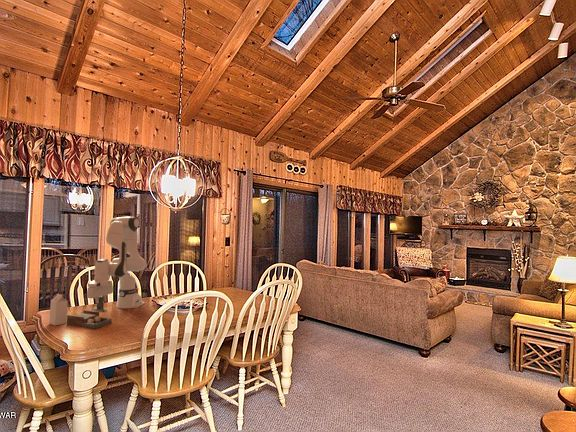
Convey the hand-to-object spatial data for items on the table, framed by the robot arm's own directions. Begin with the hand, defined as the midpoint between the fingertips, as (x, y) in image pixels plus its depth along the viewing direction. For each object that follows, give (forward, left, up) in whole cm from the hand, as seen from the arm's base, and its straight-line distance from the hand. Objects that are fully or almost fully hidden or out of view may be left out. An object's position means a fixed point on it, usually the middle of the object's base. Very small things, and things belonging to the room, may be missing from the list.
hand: (100, 302), depth 240 cm
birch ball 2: (+10, +8, -8) cm, 15 cm away
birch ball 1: (+16, +8, -8) cm, 20 cm away
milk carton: (+19, -15, -12) cm, 27 cm away
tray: (+13, +10, -11) cm, 20 cm away
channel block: (+13, -1, -11) cm, 17 cm away
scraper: (0, 0, -6) cm, 6 cm away
